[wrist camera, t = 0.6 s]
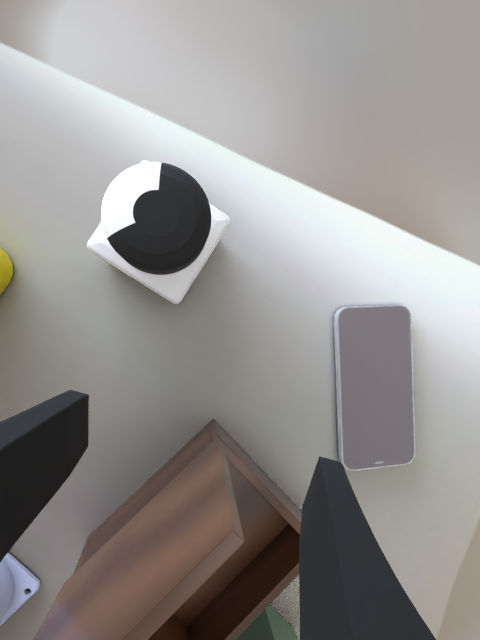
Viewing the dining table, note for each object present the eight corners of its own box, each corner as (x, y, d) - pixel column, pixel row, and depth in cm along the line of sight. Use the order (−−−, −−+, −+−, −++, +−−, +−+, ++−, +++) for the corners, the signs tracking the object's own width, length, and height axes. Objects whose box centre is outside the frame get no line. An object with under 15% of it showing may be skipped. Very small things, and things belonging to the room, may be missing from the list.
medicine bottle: (221, 237, 33) (246, 197, 21) (177, 306, 32) (177, 304, 21) (150, 189, 32) (135, 118, 20) (104, 260, 31) (59, 230, 19)
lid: (245, 542, 15) (233, 529, 14) (-58, 845, 13) (-72, 832, 13) (223, 443, 28) (217, 436, 28) (71, 589, 26) (64, 582, 26)
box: (303, 512, 35) (324, 547, 30) (186, 630, 33) (188, 688, 28) (213, 418, 33) (220, 438, 28) (87, 537, 32) (69, 581, 27)
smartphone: (411, 304, 35) (416, 463, 35) (405, 304, 36) (410, 459, 36) (336, 307, 34) (342, 472, 34) (332, 307, 35) (337, 468, 35)
